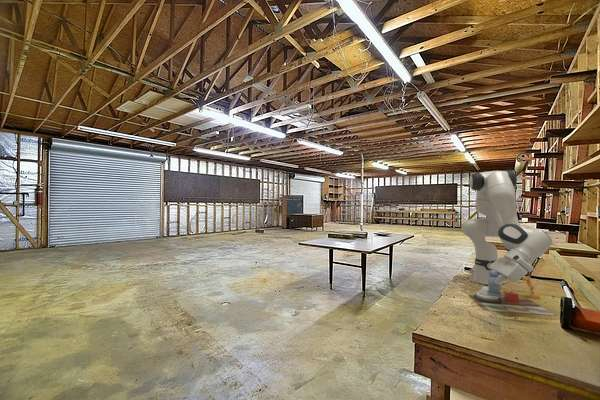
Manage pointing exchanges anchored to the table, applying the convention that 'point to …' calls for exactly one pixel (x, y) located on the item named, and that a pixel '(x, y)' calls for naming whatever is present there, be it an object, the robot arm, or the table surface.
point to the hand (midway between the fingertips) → (492, 281)
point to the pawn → (493, 284)
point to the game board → (511, 306)
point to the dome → (485, 294)
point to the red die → (511, 296)
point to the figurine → (533, 294)
